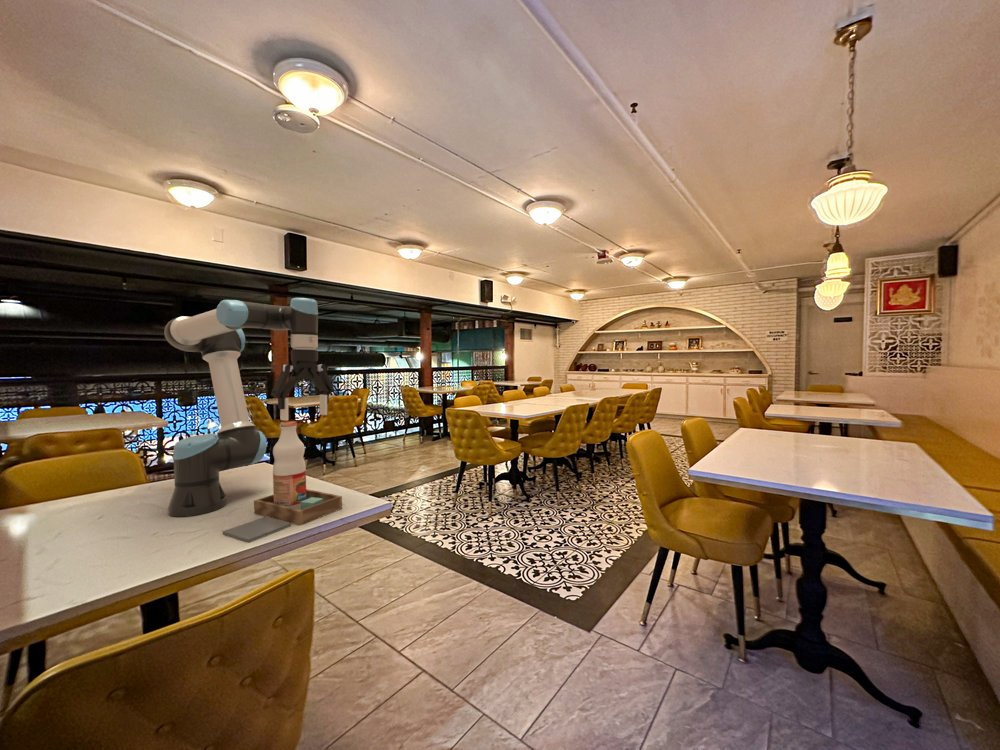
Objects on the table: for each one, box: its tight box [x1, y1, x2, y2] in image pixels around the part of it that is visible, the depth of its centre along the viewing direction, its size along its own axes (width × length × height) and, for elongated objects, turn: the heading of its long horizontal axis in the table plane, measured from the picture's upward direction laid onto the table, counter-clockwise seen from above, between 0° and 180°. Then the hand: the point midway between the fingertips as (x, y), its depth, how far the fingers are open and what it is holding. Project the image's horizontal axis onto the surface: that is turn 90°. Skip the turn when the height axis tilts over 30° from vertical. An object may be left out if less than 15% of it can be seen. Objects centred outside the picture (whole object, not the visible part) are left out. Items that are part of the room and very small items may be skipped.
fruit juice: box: [272, 421, 307, 510], centre depth 130 cm, size 9×9×28 cm
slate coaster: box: [222, 516, 292, 543], centre depth 113 cm, size 12×12×1 cm
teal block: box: [301, 497, 323, 510], centre depth 125 cm, size 4×4×4 cm
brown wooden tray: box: [253, 488, 343, 526], centre depth 128 cm, size 22×15×4 cm
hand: (304, 417), depth 126 cm, fingers open, 13 cm apart
